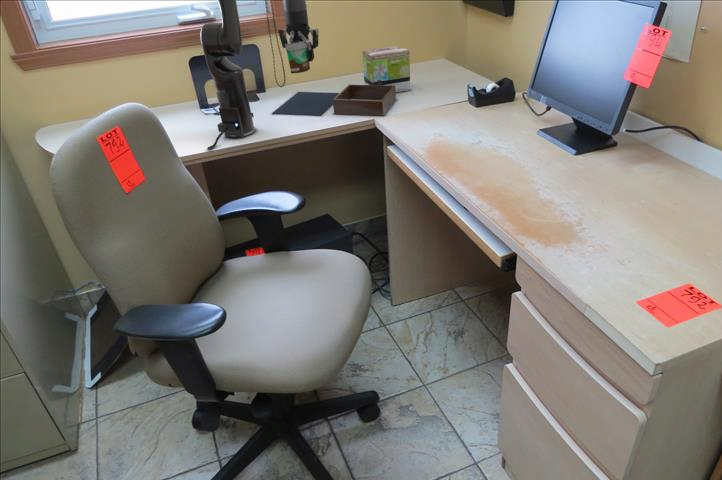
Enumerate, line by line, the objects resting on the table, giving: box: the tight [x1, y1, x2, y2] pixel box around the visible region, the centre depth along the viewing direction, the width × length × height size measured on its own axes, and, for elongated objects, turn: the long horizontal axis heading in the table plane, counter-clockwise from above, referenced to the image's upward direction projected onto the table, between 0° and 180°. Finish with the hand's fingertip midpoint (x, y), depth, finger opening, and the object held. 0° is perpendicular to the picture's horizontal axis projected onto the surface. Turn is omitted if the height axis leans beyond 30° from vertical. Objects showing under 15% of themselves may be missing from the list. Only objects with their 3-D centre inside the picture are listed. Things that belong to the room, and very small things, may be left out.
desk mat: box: [271, 91, 340, 117], centre depth 202 cm, size 24×18×1 cm
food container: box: [284, 41, 311, 74], centre depth 192 cm, size 12×6×10 cm, turn 169°
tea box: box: [362, 45, 411, 93], centre depth 206 cm, size 15×10×15 cm, turn 114°
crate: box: [332, 83, 397, 117], centre depth 195 cm, size 18×18×5 cm
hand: (302, 60), depth 193 cm, fingers closed on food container, 6 cm apart
